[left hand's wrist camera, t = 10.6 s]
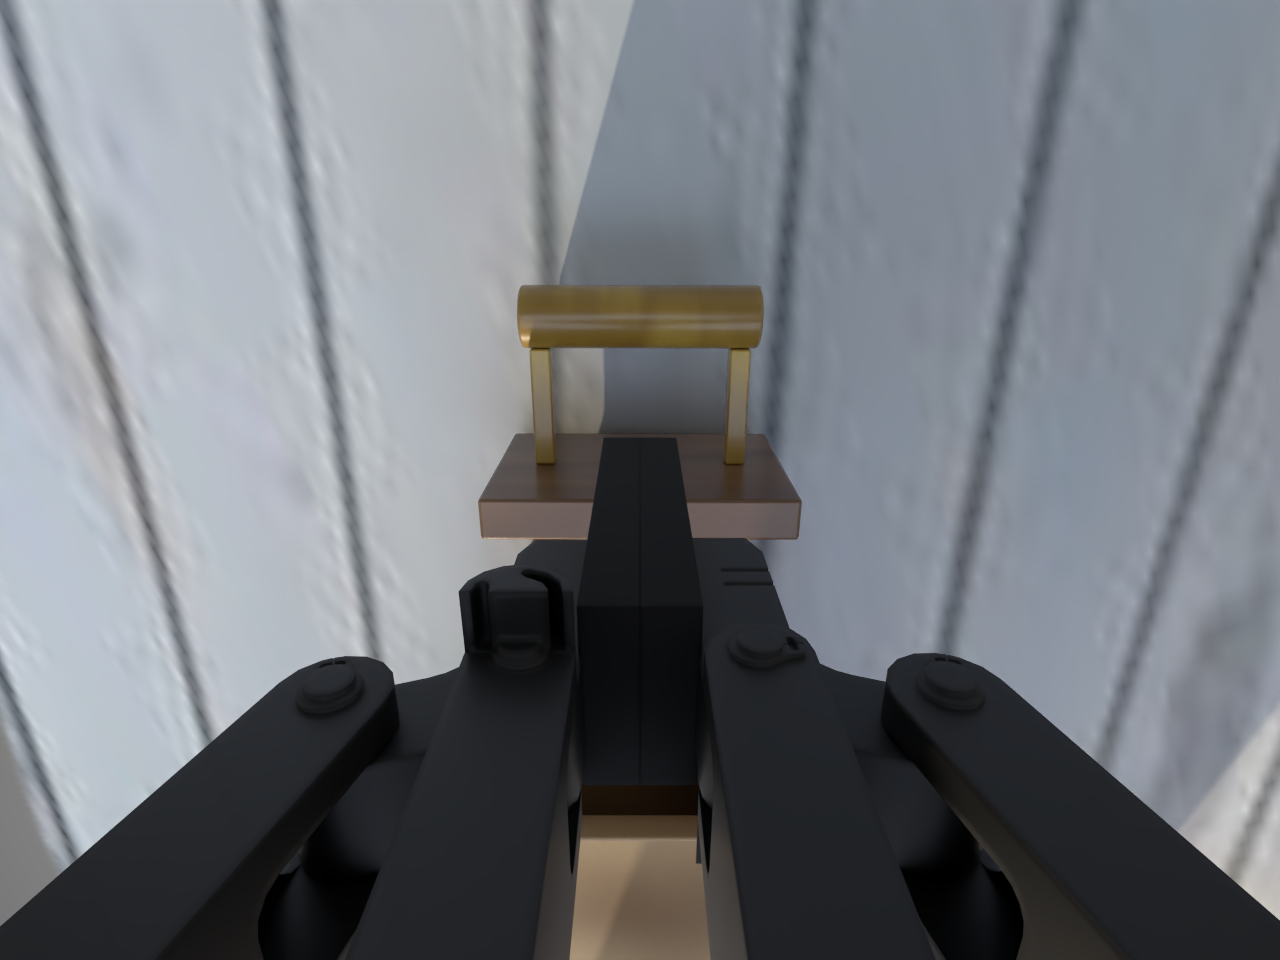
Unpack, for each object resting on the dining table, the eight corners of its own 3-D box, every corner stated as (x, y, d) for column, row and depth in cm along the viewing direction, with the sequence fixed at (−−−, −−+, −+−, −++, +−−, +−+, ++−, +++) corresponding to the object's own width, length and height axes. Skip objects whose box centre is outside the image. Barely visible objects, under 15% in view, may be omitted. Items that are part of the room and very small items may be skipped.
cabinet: (521, 677, 29) (480, 838, 22) (757, 678, 29) (798, 838, 22) (543, 988, 36) (518, 1191, 29) (734, 988, 36) (758, 1192, 29)
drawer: (504, 276, 22) (459, 297, 17) (775, 276, 22) (821, 298, 17) (541, 826, 31) (518, 964, 25) (737, 826, 31) (759, 964, 25)
